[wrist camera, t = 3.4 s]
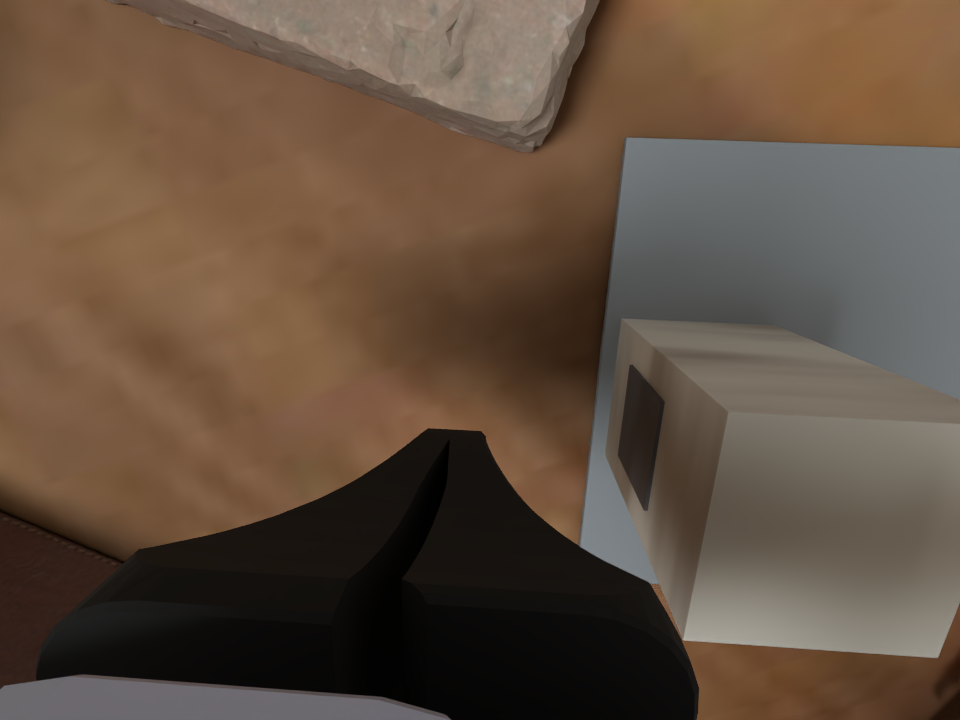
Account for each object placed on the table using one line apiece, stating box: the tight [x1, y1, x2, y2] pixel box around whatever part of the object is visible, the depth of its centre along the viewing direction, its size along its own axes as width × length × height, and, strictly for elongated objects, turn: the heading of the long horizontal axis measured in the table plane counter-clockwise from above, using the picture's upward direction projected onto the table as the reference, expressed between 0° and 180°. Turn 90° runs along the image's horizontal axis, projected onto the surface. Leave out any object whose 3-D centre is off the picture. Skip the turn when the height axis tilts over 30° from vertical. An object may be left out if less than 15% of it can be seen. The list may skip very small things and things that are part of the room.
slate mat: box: [579, 138, 960, 584], centre depth 16 cm, size 16×20×1 cm
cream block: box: [605, 318, 960, 658], centre depth 13 cm, size 5×5×8 cm
